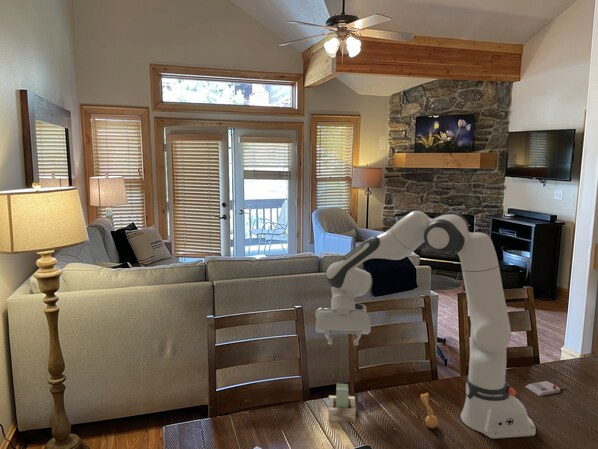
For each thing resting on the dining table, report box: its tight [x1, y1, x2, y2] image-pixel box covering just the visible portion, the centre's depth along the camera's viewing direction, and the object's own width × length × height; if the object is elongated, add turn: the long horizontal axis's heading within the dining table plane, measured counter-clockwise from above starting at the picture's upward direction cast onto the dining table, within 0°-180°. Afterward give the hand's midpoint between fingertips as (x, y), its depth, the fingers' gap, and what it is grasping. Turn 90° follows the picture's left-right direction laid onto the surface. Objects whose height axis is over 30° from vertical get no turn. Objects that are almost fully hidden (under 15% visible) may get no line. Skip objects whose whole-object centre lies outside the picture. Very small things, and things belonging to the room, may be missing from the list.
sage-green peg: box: [335, 383, 349, 408], centre depth 150 cm, size 4×4×10 cm
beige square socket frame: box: [327, 394, 357, 423], centre depth 150 cm, size 9×9×4 cm
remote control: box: [525, 380, 567, 397], centre depth 167 cm, size 7×16×3 cm, turn 107°
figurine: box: [419, 392, 439, 429], centre depth 142 cm, size 8×6×12 cm
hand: (343, 344), depth 159 cm, fingers open, 8 cm apart
